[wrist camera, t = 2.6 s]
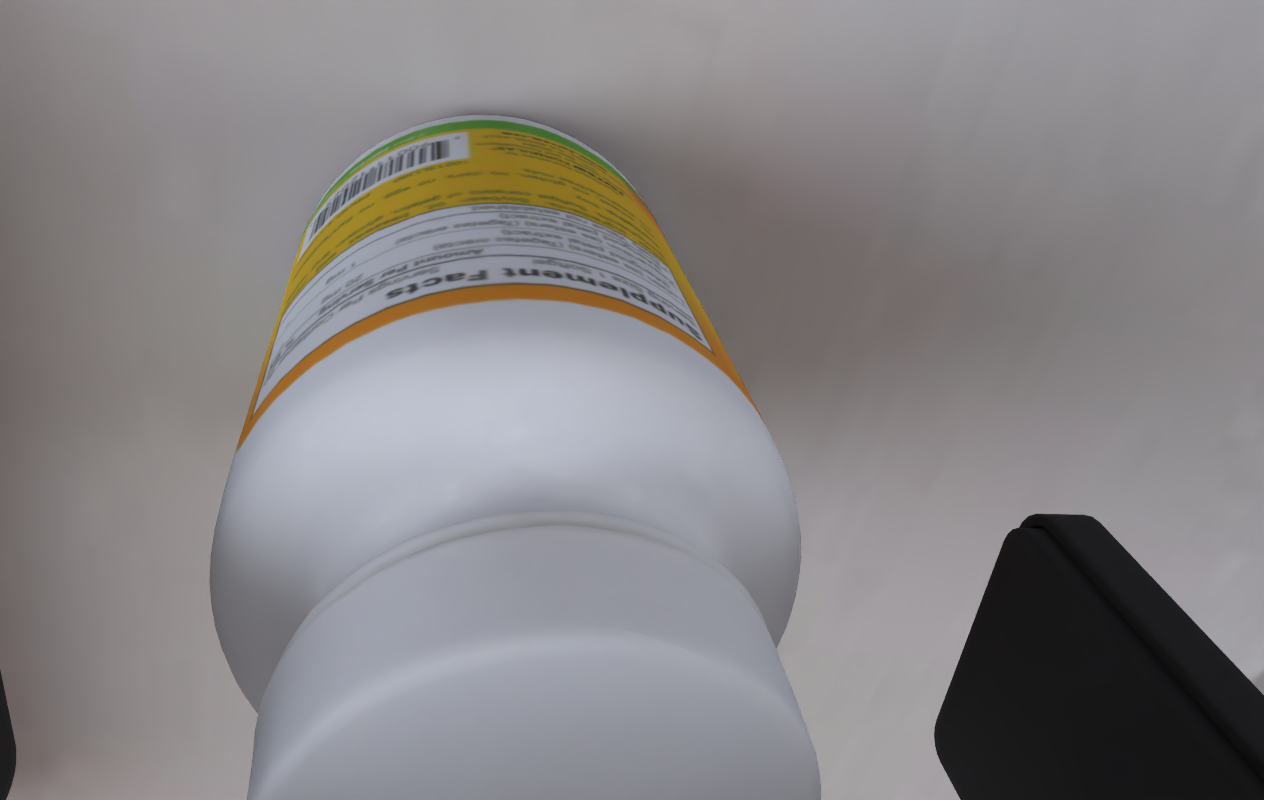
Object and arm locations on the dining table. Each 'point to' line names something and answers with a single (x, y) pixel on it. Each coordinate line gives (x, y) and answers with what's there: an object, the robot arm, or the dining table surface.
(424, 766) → the supplement bottle
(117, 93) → the dining table surface
